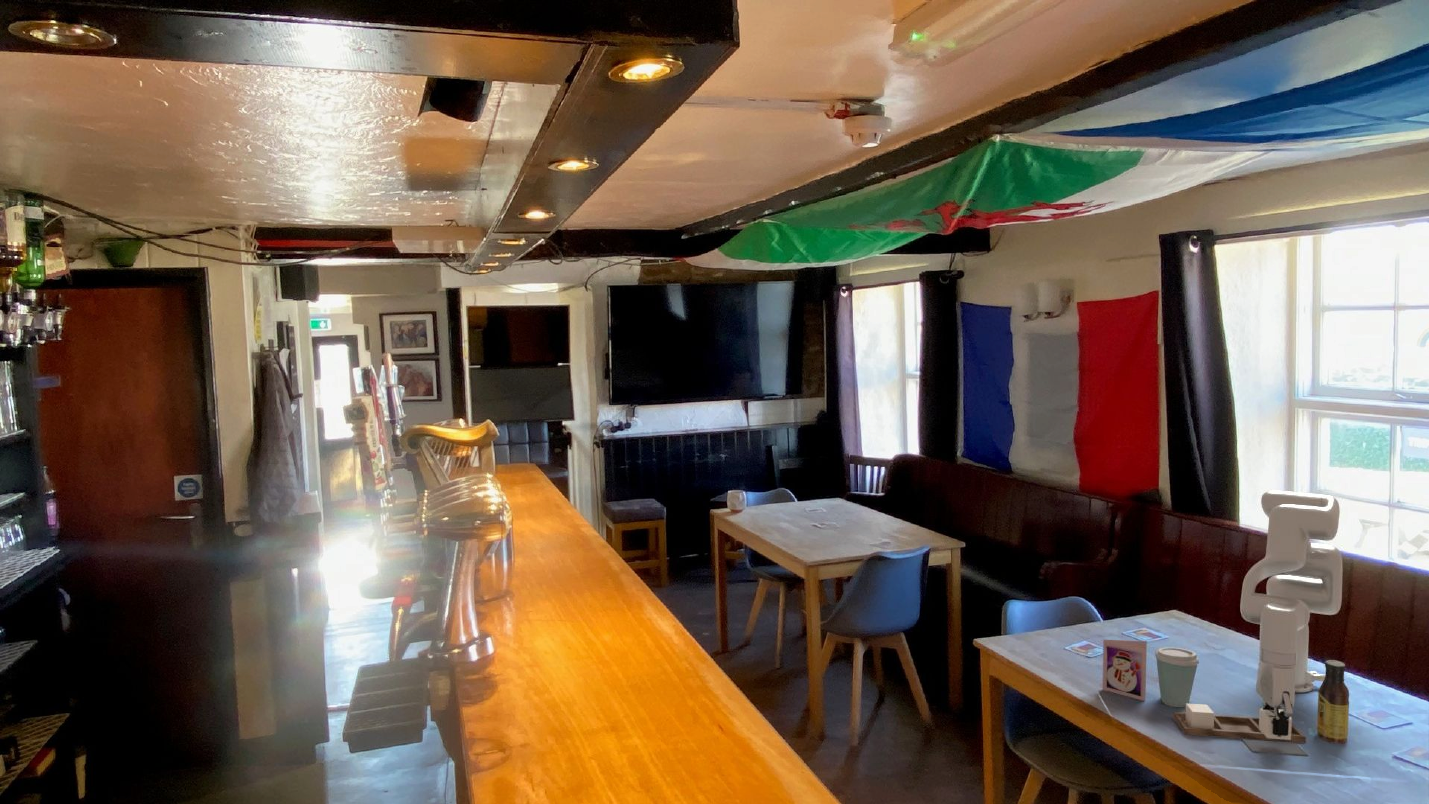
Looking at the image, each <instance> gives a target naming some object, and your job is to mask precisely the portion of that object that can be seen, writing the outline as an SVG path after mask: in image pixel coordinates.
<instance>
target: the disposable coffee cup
mask: <svg viewBox="0 0 1429 804" xmlns="http://www.w3.org/2000/svg"><path fill="white" fill-rule="evenodd" d="M1154 657H1155V659H1156V666H1157V678H1158V683H1159V684H1158V685H1159V693H1160V701H1161V702H1162V703H1163V704H1164V705H1167V706H1170V707H1174V708H1186V703H1188V704H1190V699H1191V695H1192V690H1193V687H1194V686H1193V685H1194V681H1195V676H1196V671H1197V668H1198V665H1199V664H1200V663H1199V657H1198V655H1197V653H1196V652H1195V651H1193V650H1190V649H1186V648H1182V647H1173V646H1172V647H1171V646H1170V647H1165V646H1164V647H1160V648H1158V649H1157V650H1155V653H1154Z"/></svg>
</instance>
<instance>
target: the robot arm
mask: <svg viewBox="0 0 1429 804" xmlns="http://www.w3.org/2000/svg"><path fill="white" fill-rule="evenodd" d="M1260 504H1261V508H1262V511H1263V513H1264V515H1266V517H1267V518H1268V528H1267V539H1266V548H1265V556H1264V558H1262V559H1261V560H1259V561H1258V562H1257V563H1255V564H1253V566H1252V567H1251V568H1250V569H1249V570H1248V571H1247V573H1246V575H1245V576H1244V578H1243V582H1242V588H1241V595H1240V596H1241V597H1240V605H1239V606H1240V613H1241V617H1242V618H1243V620H1245V622H1248V623H1252V624H1257V625H1260V626H1259V649H1258V650H1259V652H1258V653H1259V654H1258V660H1259V661H1258V665H1257V673H1256V684H1255V685H1256V688H1255V691H1256V693H1257V695H1258V696H1259V697H1260V698H1261V699H1262V703H1261V706H1262V708H1263V709H1264V710H1274V713H1275V718H1273V734H1274V735H1281V736H1288V729H1289V720H1290V717H1291V716H1292V715H1293V713H1294V712H1293V708H1294V706H1295V698H1296V697H1295V694H1296V693H1308V692H1311V691H1313V689H1314V684H1313V682H1315V681H1317V682H1323V681H1324V679H1325V674H1322V673H1321V674H1320V673H1317V671H1310V670H1308V658H1309V638H1310V637H1309V634H1310V630H1309V629H1310V628H1309V623H1310V619H1311V618H1310V617H1311V614H1312V613H1313V614H1318V615H1319V614H1320V615H1328V616H1332V615H1337V614H1338V613H1339V611H1340V610H1341V606H1342V601H1343V600H1342V599H1343V557H1342V556H1343V555H1342V553H1341V551H1340V550H1339V548H1338V547H1336V546H1334V545H1331V544H1324V543H1316V542H1311V540H1318V541H1326V542H1327V541H1328V542H1329V541H1332V540H1334V538H1335V537H1336V536H1337V533H1338V530H1339V524H1340V522H1339V521H1340V520H1339V519H1340V513H1341V512H1340V511H1341V510H1340V509H1341V508H1340V504H1339V501H1338V500H1337V498H1335V497H1334V496H1332V495H1327V494H1319V493H1318V494H1317V493H1309V492H1308V493H1305V492H1297V491H1296V492H1295V491H1283V490H1269V491H1266V492H1264V493H1263V494H1262V495H1261V499H1260ZM1267 578H1268V580H1267V582H1266V587H1265V589H1266V594H1265V593H1259V592H1258V593H1257V592H1256V587H1257V585H1258V584H1259V583H1261V582H1262V581H1263V580H1265V579H1267ZM1281 704H1282V705H1281ZM1279 709H1282V710H1283V711H1281V712H1280V713H1279Z"/></svg>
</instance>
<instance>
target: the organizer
mask: <svg viewBox="0 0 1429 804" xmlns="http://www.w3.org/2000/svg"><path fill="white" fill-rule="evenodd" d="M1172 718H1173V719H1174V721H1175V722H1176V724H1177V726H1178V727H1179V728H1180V729H1181V732H1182V733H1184V735H1189V736H1199V737H1200V736H1202V737H1213V738H1214V737H1216V738H1217V737H1218V738H1230V739H1246V740H1261V741H1275V742H1289V743H1301V744H1303V743H1304V744H1306V743H1307V736H1306V735H1305V734H1304V733H1302V731H1301V730H1299V728H1297V727H1296V725H1295V724H1293V723H1292V728H1291V740H1285V739H1271V738H1267V737H1266V736H1265V735H1264V734H1263V733H1262V732H1261V731H1260V730H1259V717H1255V716H1254V717H1252V716H1243V715H1242V716H1240V715H1228V714H1227V715H1224V714H1214V729H1205V728H1190V727H1189V726H1188V725H1187V723H1186V722H1185V720H1186V712H1181V711H1180V712H1178V711H1173V712H1172Z"/></svg>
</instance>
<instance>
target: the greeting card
mask: <svg viewBox="0 0 1429 804" xmlns="http://www.w3.org/2000/svg"><path fill="white" fill-rule="evenodd" d="M1147 642H1148V641H1146V640H1144V641H1143V640H1126V639H1125V640H1123V639H1122V640H1121V639H1103V648H1102V651H1103V652H1102V691H1105V692H1106V691H1107V692H1111V693H1115V694H1118V695H1122V696H1125V697H1129V698H1133V699H1137V700H1140V701H1144V702H1146V690H1147V688H1146V687H1147V686H1146V685H1147V684H1146V681H1147V651H1148V650H1147V647H1148V646H1147V644H1148V643H1147Z"/></svg>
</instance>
